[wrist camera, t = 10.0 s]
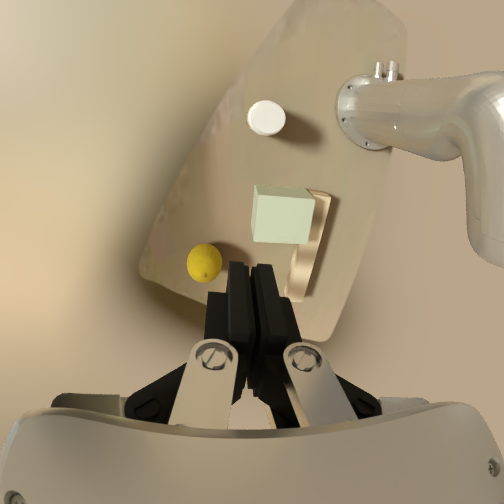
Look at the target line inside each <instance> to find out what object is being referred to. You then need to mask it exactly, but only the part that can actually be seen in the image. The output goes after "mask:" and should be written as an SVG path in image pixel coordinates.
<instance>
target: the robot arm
mask: <svg viewBox="0 0 504 504" xmlns="http://www.w3.org/2000/svg"><path fill="white" fill-rule="evenodd" d="M383 66H384V65H383V64H382V63H379V62H375V67H374V75H360V76H357V77H354V78H352V79H350V80H349V81H347V82H346V83H345V84H344V85H343V86H342V88H341V90H340V91H339V94H338V96H337V100H336V115H337V120H338V122H339V125H340V127H341V129H342V131H343V132H344V134H345V135H346V136H347V137H348V138H349V139H350V140H351V141H352V142H353V143H355V144H357V145H358V146H360V147H363V148H366V149H371V150H379V149H384V148H386V147H388V146H392V147H396V148H399V149H402V150H405V151H408V152H411V153H414V154H417V155H420V156H423V157H426V158H429V159H432V160H435V161H449V160H453V159H455V158H458V157H459V156H461V155H462V159H463V168H464V174H465V185H466V211H467V231H468V238H469V241H470V243H471V246H472V247H473V249H474V251H475V252H476V253H477V254H478V255H479V256H480V257H481V258H482V259H484V260H485V261H487V262H489V263H491V264H493V265H496V266H499V267H503V268H504V71H486V72H480V73H475V74H469V75H464V76H457V77H448V78H432V79H411V80H397V75H398V71H399V64H398V63H396V62H394V61H388V62H387V75H386V78H384V79H383V77H382V72H383ZM348 87H349V89H348ZM342 118H343V119H344V121H342ZM365 143H367V144H365ZM246 378H247V385H248V389H253V396H254V397H258V398H259V399H260V400H261V401H263V402H264V403H265V409H266V413H267V416H268V420H269V423H270V426H271V429H267V430H266V429H265V430H230V429H229V430H228V422H229V416H230V409H231V405H233V404H234V403H235V402H236V401H237V400H239V399H240V398H241V394H242V389H244V387H245V383H246ZM0 504H504V460H503V458H502V455H501V452H500V450H499V448H498V445H497V443H496V441H495V439H494V437H493V435H492V433H491V431H490V429H489V427H488V425H487V423H486V422H485V420H484V418H483V417H482V415H481V414H480V413H479V412H478V410H477V409H476V408H474V407H473V406H471V405H468V404H465V403H460V402H437V403H429V402H428V401H427V400H425V399H423V398H399V397H396V398H395V397H380V398H379V399H376V398H375V397H373V396H372V395H371V394H369V393H367V392H365V391H364V390H362V389H360V388H358V387H357V386H355V385H353V384H351V383H350V382H348V381H346V380H345V379H343V378H341V377H340V376H338V375H336V374H335V373H334V372H333V370H332V368H331V366H330V364H329V362H328V360H327V358H326V356H325V355H324V353H323V352H322V351H321V350H320V349H319V348H318V347H316V346H314V345H312V344H309V343H305V342H302V339H301V336H300V332H299V329H298V325H297V322H296V318H295V315H294V311H293V308H292V305H291V301H290V299H289V298H288V297H280V296H279V292H278V288H277V284H276V280H275V276H274V272H273V268H272V265H270V264H257V267H252V269H251V275H249V267H248V266H244V263H243V262H235V261H230V262H229V270H228V279H227V288H226V293H220V292H209V291H208V300H207V312H206V322H205V334H204V340H203V341H200V342H198V343H197V344H196V345H195V346H194V347H193V349H192V350H191V352H190V356H189V359H188V362H187V363H185V364H183V365H182V366H180V367H178V368H177V369H175V370H173V371H172V372H170V373H168V374H167V375H165V376H163V377H161V378H160V379H158V380H156V381H154V382H153V383H151V384H149V385H147V386H146V387H144V388H142V389H141V390H139V391H137V392H135V393H133V394H132V395H131V396H130V397H120V395H106V394H104V395H103V394H78V393H62V394H60V395H58V396H57V397H56V398H55V399H54V400H53V401H52V404H51V407H50V408H40V409H36V410H31V411H28V412H26V413H24V414H23V415H21V416H20V417H19V418H18V419H17V420H16V421H15V422H14V424H13V426H12V427H11V429H10V431H9V433H8V435H7V437H6V439H5V442H4V444H3V447H2V450H1V452H0Z"/></svg>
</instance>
